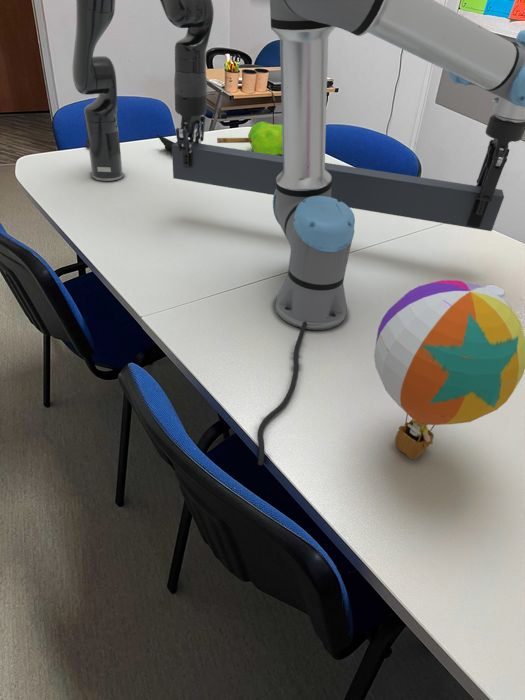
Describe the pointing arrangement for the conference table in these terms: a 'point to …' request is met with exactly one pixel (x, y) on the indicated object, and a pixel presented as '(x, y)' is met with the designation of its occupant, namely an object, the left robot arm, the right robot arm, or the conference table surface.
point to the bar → (342, 185)
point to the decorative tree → (261, 138)
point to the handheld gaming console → (166, 142)
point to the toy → (448, 357)
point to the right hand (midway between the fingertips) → (472, 221)
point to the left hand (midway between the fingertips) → (191, 163)
